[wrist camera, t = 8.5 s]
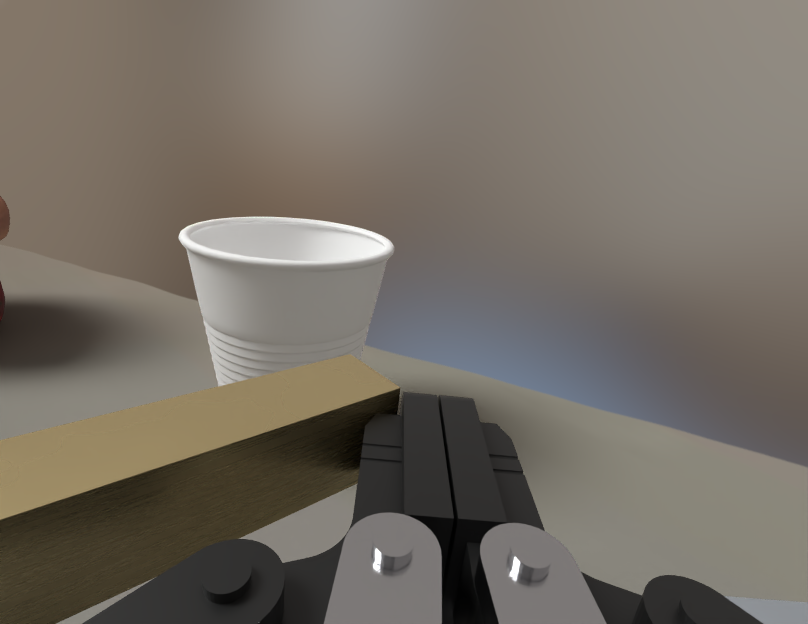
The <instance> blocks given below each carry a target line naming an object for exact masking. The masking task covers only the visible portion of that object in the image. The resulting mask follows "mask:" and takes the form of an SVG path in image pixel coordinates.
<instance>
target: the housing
mask: <svg viewBox="0 0 808 624" xmlns="http://www.w3.org/2000/svg"><path fill="white" fill-rule="evenodd" d="M724 597H726V598H727V599H729V600H730V601H731V602H733V603H734V604H736V605H737V606H739V607H740V608H742V609H743V610H744V611H746V612H747V613H749V614H750V615H752V616H753V617H755V618H756V619H757V620H759V621H760V622H762V623H763V624H808V603H807V602H794V601H781V600H768V599H755V598H741V597H728V596H724Z"/></svg>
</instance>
